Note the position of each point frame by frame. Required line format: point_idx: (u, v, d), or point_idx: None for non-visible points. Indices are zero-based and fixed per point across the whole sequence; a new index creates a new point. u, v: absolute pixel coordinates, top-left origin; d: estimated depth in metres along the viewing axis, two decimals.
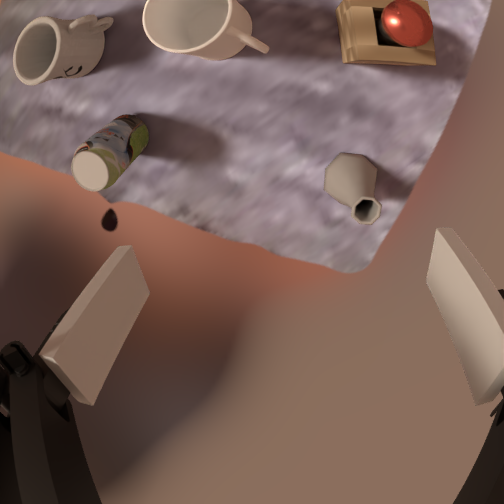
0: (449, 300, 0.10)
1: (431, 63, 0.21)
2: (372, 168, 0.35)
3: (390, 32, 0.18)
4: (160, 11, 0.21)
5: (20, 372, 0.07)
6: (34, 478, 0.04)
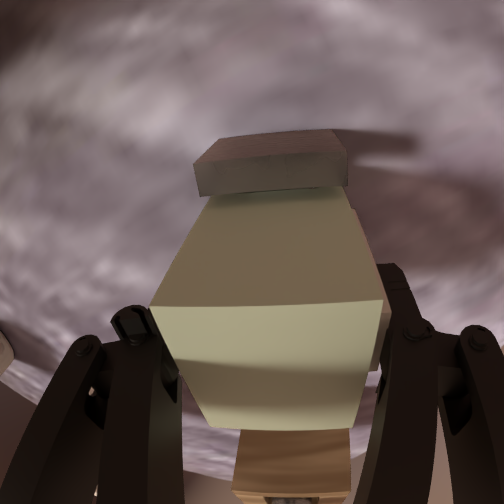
0: None
1: None
2: None
3: None
4: None
5: (135, 341, 0.08)
6: (123, 470, 0.05)
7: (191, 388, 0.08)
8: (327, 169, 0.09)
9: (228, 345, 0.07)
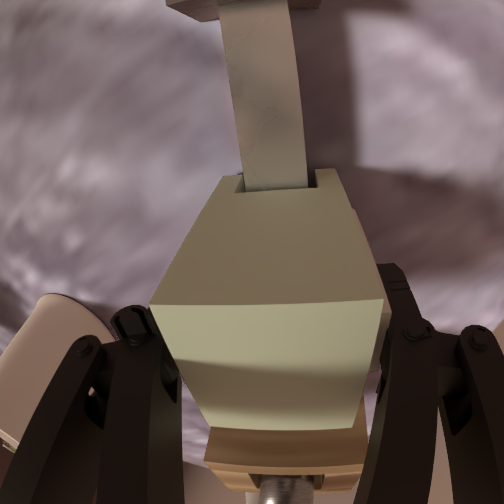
0: None
1: None
2: None
3: None
4: None
5: (135, 341, 0.08)
6: (123, 470, 0.05)
7: (190, 387, 0.08)
8: None
9: (228, 343, 0.07)
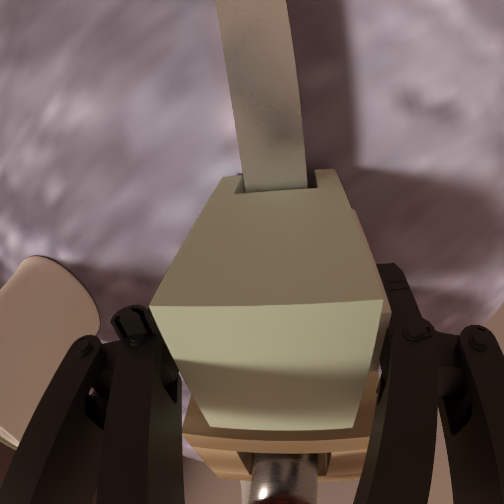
0: None
1: (350, 479, 0.13)
2: None
3: None
4: None
5: (136, 341, 0.08)
6: (123, 470, 0.05)
7: (191, 388, 0.08)
8: None
9: (228, 344, 0.07)
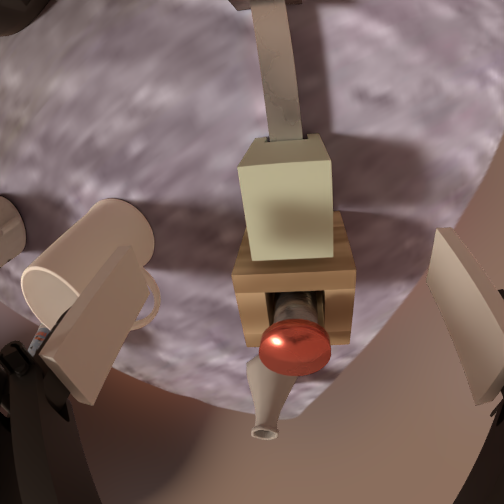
0: (449, 300, 0.10)
1: (342, 343, 0.22)
2: None
3: None
4: (42, 272, 0.23)
5: (20, 372, 0.07)
6: (34, 478, 0.04)
7: (247, 221, 0.18)
8: None
9: (269, 185, 0.17)
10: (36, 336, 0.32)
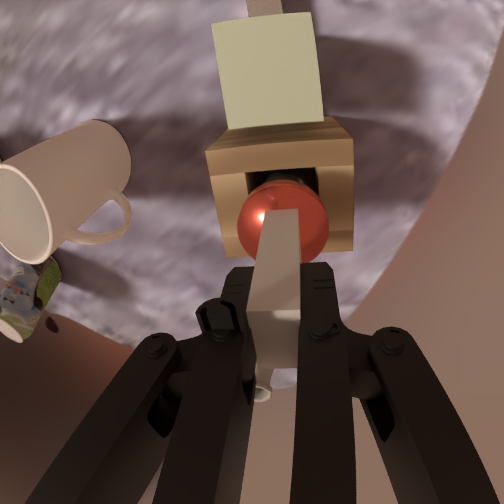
0: None
1: (344, 249, 0.19)
2: None
3: (248, 251, 0.16)
4: (8, 189, 0.19)
5: (220, 336, 0.08)
6: (189, 477, 0.05)
7: (222, 81, 0.14)
8: None
9: (246, 39, 0.13)
10: (6, 284, 0.28)
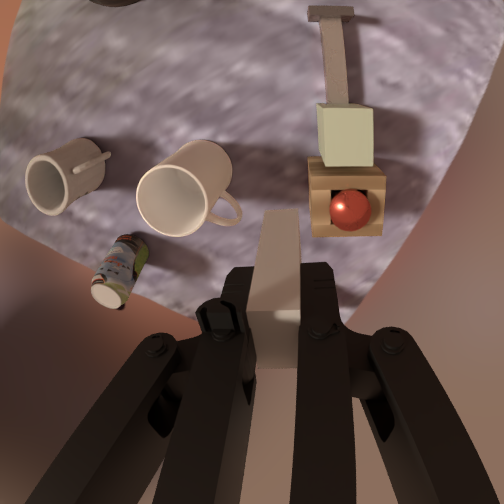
0: None
1: (377, 234, 0.33)
2: None
3: (333, 222, 0.31)
4: (150, 182, 0.33)
5: (220, 336, 0.08)
6: (189, 477, 0.05)
7: (325, 140, 0.28)
8: (348, 10, 0.24)
9: (339, 119, 0.27)
10: (106, 260, 0.41)
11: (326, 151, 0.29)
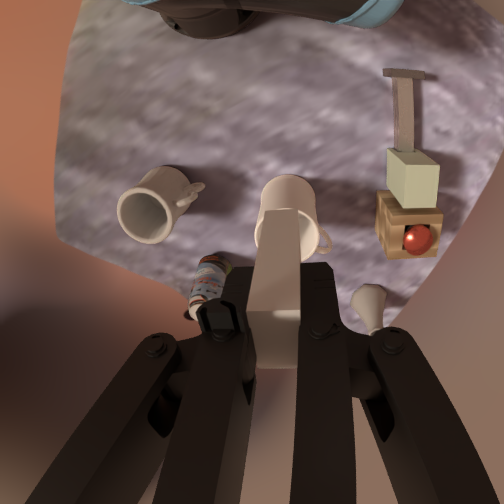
0: None
1: (433, 256, 0.40)
2: (383, 294, 0.54)
3: (406, 249, 0.39)
4: None
5: (220, 336, 0.08)
6: (189, 477, 0.05)
7: (405, 189, 0.35)
8: (420, 75, 0.31)
9: (416, 173, 0.34)
10: (200, 281, 0.49)
11: (405, 197, 0.36)
